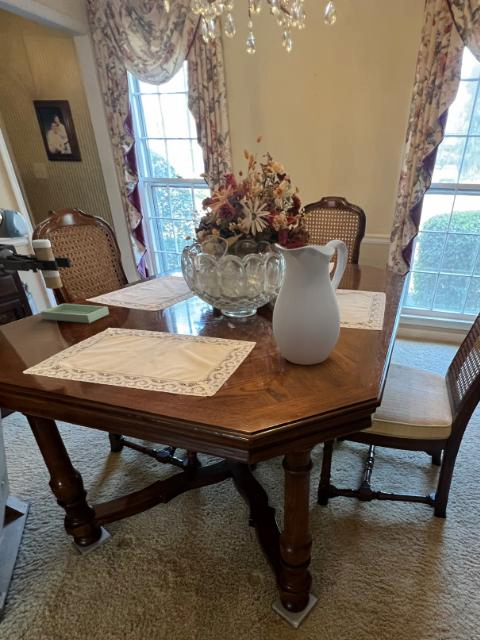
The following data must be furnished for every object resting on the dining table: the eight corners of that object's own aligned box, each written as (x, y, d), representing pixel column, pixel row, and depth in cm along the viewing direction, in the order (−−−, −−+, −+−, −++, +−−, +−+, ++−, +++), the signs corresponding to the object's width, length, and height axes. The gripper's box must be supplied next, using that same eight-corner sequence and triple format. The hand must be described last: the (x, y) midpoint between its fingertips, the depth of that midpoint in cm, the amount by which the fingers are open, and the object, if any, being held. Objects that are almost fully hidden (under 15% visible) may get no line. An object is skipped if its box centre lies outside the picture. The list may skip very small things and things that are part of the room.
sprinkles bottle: (42, 288, 114) (26, 240, 107) (53, 285, 118) (39, 238, 111) (56, 289, 113) (41, 241, 107) (66, 285, 117) (52, 239, 111)
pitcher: (308, 376, 89) (311, 250, 75) (260, 357, 98) (254, 242, 85) (366, 348, 104) (376, 239, 90) (319, 334, 114) (322, 233, 100)
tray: (42, 319, 125) (40, 311, 124) (65, 310, 134) (63, 303, 132) (89, 322, 122) (87, 315, 121) (109, 313, 130) (107, 306, 129)
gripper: (25, 268, 125) (87, 271, 120) (-25, 279, 110) (44, 283, 106) (16, 243, 121) (80, 246, 117) (-36, 252, 106) (34, 255, 102)
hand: (62, 264), depth 111 cm, fingers closed on sprinkles bottle, 4 cm apart
